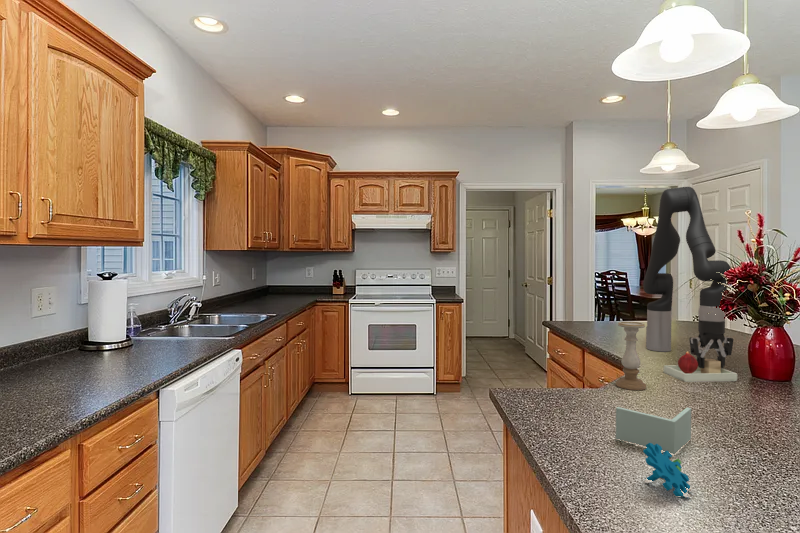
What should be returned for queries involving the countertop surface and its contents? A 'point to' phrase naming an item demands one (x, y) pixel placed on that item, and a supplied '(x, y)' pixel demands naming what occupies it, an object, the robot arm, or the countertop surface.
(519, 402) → the countertop surface
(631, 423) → the right angle wall
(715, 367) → the maple block
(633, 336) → the candle holder
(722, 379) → the tray
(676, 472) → the teal irregular piece
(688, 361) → the pomegranate
